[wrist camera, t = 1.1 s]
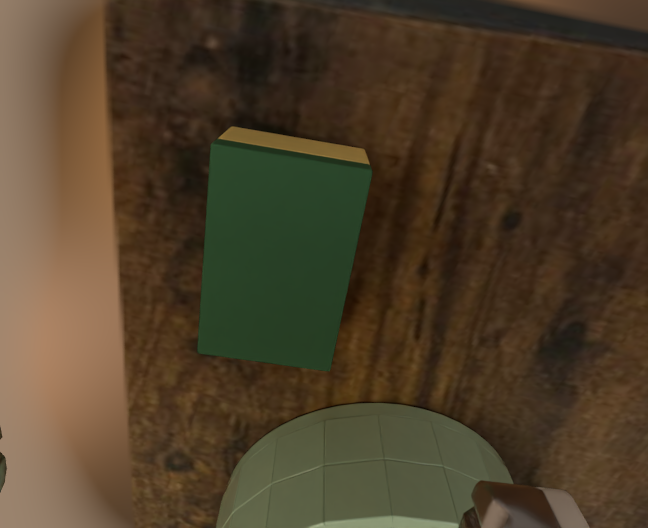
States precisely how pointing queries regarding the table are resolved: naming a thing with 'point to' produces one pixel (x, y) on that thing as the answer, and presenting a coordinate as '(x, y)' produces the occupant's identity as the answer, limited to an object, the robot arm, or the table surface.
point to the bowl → (361, 471)
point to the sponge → (279, 246)
